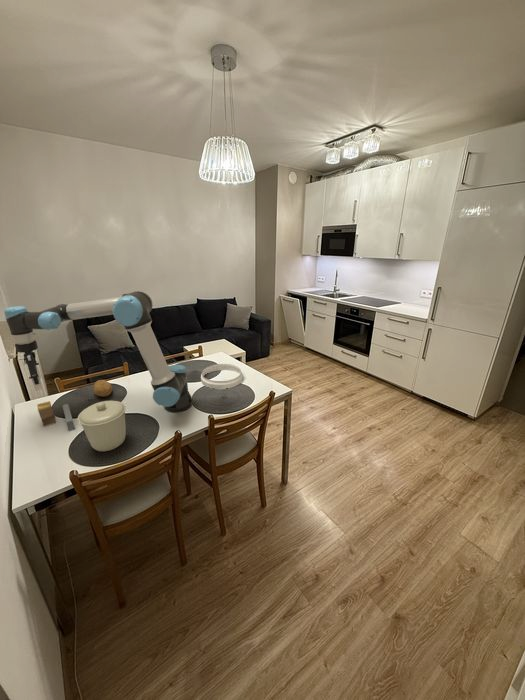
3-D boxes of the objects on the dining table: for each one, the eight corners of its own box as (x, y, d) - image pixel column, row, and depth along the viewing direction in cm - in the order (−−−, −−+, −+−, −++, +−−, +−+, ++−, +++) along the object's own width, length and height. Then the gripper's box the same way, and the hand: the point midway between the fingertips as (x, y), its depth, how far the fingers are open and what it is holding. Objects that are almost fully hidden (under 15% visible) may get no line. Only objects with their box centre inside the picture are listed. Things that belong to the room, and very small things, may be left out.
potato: (97, 403, 156) (94, 390, 153) (92, 392, 166) (89, 380, 163) (116, 397, 162) (114, 385, 159) (110, 387, 172) (108, 376, 169)
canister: (118, 425, 137) (109, 387, 130) (139, 440, 128) (132, 400, 120) (78, 446, 123) (66, 405, 116) (99, 464, 114) (88, 421, 106)
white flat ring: (231, 367, 202) (231, 360, 200) (250, 382, 180) (250, 375, 178) (195, 376, 188) (194, 368, 186) (210, 393, 167) (210, 385, 165)
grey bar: (75, 429, 135) (72, 420, 133) (69, 430, 133) (66, 422, 131) (70, 411, 148) (68, 403, 146) (64, 413, 146) (62, 405, 144)
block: (56, 422, 139) (50, 405, 135) (43, 426, 136) (37, 409, 132) (55, 417, 143) (49, 401, 139) (43, 421, 140) (37, 404, 136)
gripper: (36, 348, 117) (50, 392, 125) (34, 332, 136) (46, 372, 143) (13, 352, 113) (28, 397, 121) (14, 335, 131) (28, 376, 139)
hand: (38, 384), depth 132 cm, fingers open, 13 cm apart
